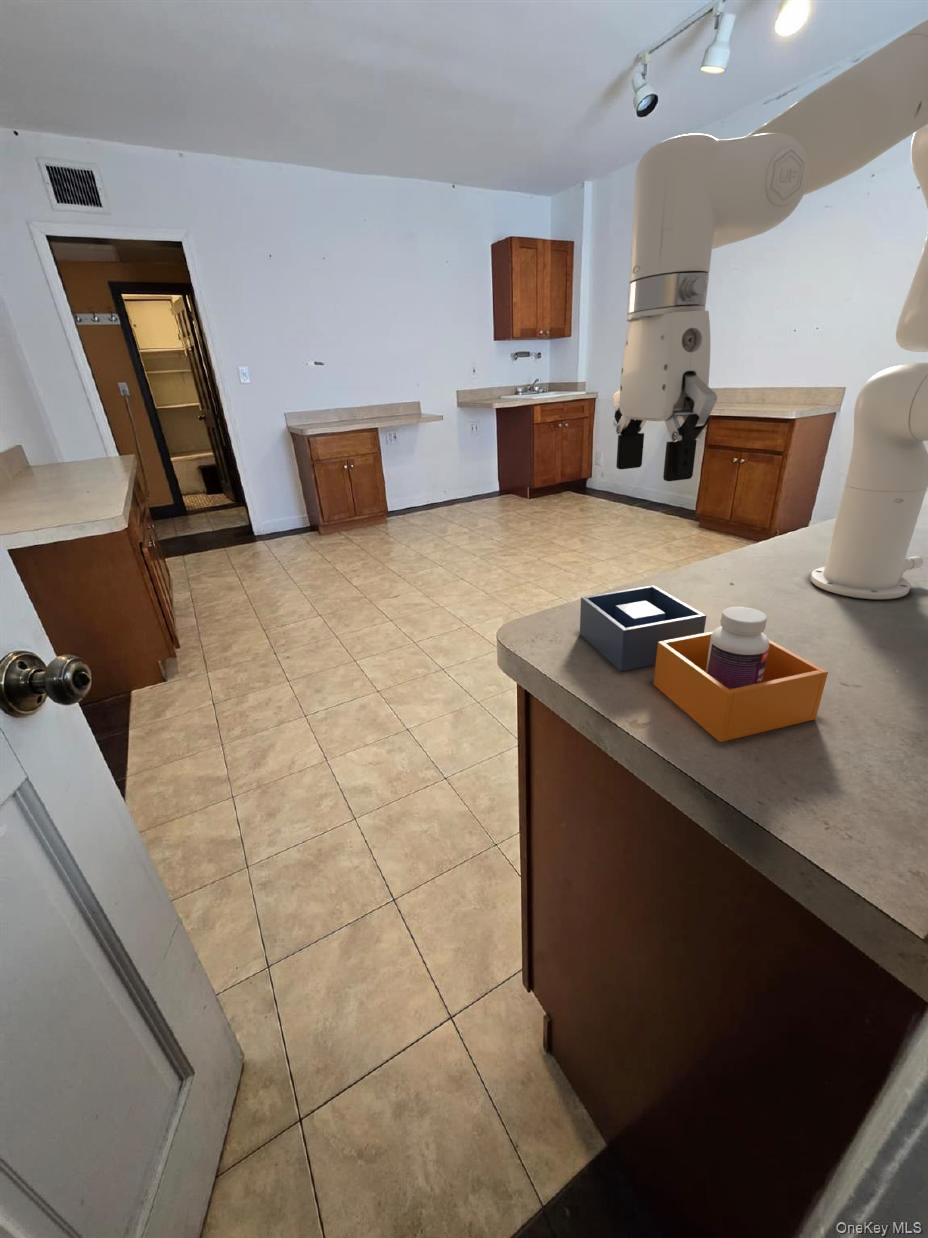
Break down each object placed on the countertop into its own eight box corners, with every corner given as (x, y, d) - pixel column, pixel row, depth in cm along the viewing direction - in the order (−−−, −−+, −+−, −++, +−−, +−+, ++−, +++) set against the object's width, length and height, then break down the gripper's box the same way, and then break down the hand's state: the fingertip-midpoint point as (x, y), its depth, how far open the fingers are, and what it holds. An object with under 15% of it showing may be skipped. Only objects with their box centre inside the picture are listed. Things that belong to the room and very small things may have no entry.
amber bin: (736, 667, 62) (743, 625, 59) (815, 719, 52) (828, 671, 49) (653, 684, 59) (657, 641, 57) (719, 742, 49) (728, 693, 47)
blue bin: (650, 620, 75) (653, 585, 72) (700, 655, 65) (706, 615, 62) (579, 633, 72) (580, 597, 70) (620, 671, 62) (623, 630, 60)
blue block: (643, 630, 71) (645, 600, 69) (662, 644, 67) (665, 613, 65) (613, 635, 70) (615, 605, 68) (631, 650, 66) (633, 618, 64)
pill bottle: (765, 711, 52) (783, 626, 48) (708, 708, 54) (721, 624, 49) (749, 683, 57) (765, 603, 53) (697, 681, 58) (709, 602, 54)
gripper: (762, 283, 45) (732, 481, 52) (650, 311, 60) (639, 461, 68) (687, 286, 44) (667, 489, 51) (592, 314, 59) (587, 467, 66)
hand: (651, 473), depth 59 cm, fingers open, 9 cm apart
